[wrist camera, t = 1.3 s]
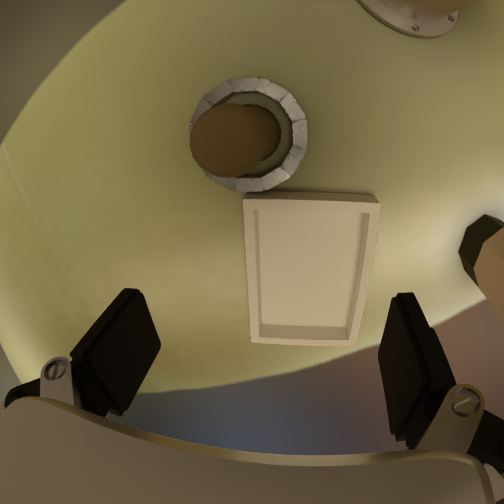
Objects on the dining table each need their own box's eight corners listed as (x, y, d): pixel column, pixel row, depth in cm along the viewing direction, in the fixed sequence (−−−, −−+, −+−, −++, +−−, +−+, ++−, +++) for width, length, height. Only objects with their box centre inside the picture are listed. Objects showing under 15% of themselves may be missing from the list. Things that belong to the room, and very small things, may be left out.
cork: (287, 111, 25) (280, 105, 15) (273, 169, 28) (258, 198, 18) (226, 99, 25) (184, 90, 15) (215, 156, 28) (170, 178, 18)
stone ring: (194, 86, 25) (186, 84, 23) (305, 79, 23) (305, 76, 21) (201, 187, 30) (195, 192, 28) (306, 187, 28) (307, 192, 26)
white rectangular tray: (248, 191, 29) (242, 199, 26) (373, 195, 27) (380, 203, 24) (254, 326, 37) (251, 342, 34) (352, 330, 35) (355, 346, 32)
